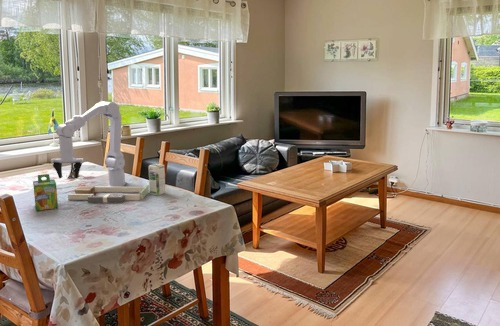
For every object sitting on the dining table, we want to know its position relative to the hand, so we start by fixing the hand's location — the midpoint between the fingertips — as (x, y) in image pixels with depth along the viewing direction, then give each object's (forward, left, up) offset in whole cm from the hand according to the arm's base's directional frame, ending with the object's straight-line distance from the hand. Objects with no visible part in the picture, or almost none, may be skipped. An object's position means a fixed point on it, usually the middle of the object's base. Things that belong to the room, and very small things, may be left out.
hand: (68, 177), depth 211 cm
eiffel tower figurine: (-37, -13, -10) cm, 40 cm away
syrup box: (-7, +41, -10) cm, 42 cm away
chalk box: (+15, -4, -10) cm, 19 cm away
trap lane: (-1, +18, -10) cm, 21 cm away
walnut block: (-2, +6, -10) cm, 12 cm away
